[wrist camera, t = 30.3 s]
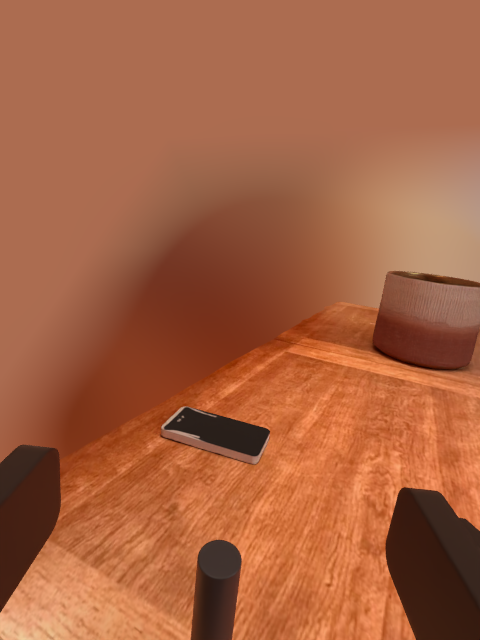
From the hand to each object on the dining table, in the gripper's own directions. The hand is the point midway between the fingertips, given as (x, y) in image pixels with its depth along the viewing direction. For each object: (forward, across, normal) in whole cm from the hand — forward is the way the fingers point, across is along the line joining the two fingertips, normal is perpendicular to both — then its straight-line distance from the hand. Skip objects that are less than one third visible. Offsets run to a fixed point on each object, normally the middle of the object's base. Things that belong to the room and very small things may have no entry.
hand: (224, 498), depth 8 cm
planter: (+92, -51, +25) cm, 108 cm away
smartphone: (+41, +2, +25) cm, 48 cm away
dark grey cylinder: (+10, 0, +25) cm, 27 cm away
